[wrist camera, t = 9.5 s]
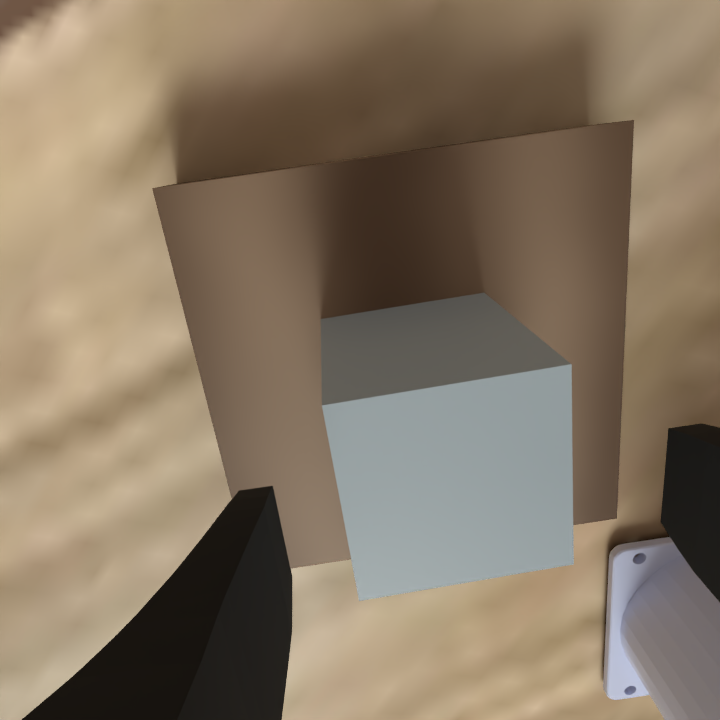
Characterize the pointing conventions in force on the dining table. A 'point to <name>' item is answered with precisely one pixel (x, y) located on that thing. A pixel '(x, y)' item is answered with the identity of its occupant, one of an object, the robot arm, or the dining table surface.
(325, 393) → the grey block
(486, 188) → the walnut block
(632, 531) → the dining table surface
